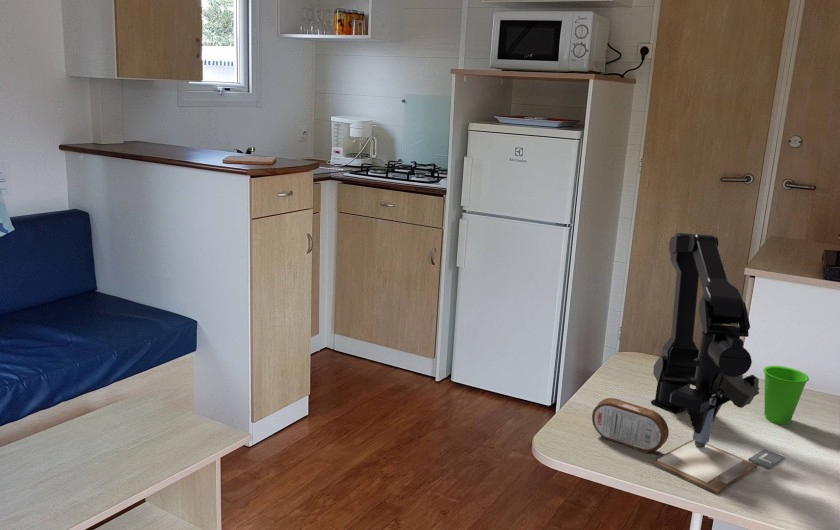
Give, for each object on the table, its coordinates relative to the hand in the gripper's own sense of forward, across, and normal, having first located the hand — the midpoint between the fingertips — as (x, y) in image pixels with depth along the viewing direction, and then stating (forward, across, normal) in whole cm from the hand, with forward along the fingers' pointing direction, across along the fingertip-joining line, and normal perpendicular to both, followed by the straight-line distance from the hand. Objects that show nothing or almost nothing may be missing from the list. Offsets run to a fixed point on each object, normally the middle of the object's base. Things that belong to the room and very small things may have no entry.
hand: (701, 430), depth 142 cm
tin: (+4, -10, +10) cm, 15 cm away
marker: (+3, 0, 0) cm, 3 cm away
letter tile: (+4, +8, -10) cm, 13 cm away
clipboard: (+4, -5, -4) cm, 8 cm away
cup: (+4, +29, -3) cm, 30 cm away
